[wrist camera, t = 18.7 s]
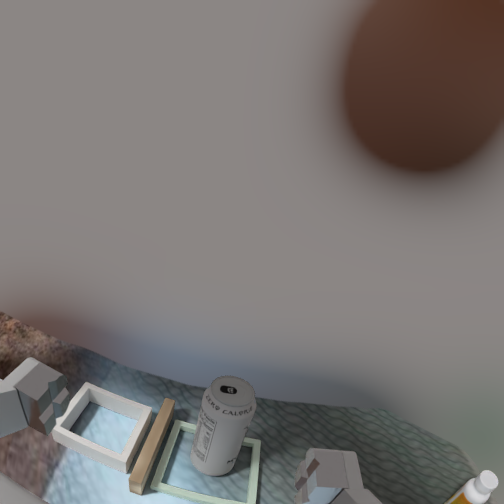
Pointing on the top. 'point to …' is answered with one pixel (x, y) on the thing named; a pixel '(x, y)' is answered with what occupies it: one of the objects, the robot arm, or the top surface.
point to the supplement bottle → (475, 489)
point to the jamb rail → (151, 448)
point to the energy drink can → (222, 424)
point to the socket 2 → (206, 501)
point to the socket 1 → (111, 403)
